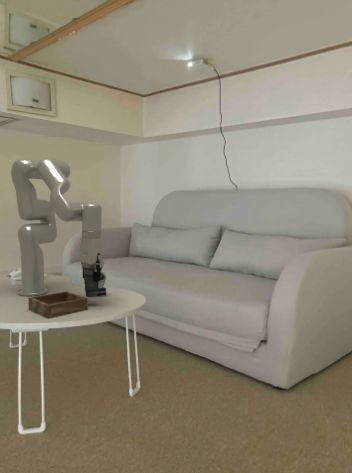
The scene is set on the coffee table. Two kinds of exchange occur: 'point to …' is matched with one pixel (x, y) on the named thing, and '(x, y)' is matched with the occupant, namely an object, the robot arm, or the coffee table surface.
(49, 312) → the walnut tray
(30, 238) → the robot arm
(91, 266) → the beverage cup
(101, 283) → the watch
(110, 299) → the coffee table surface
